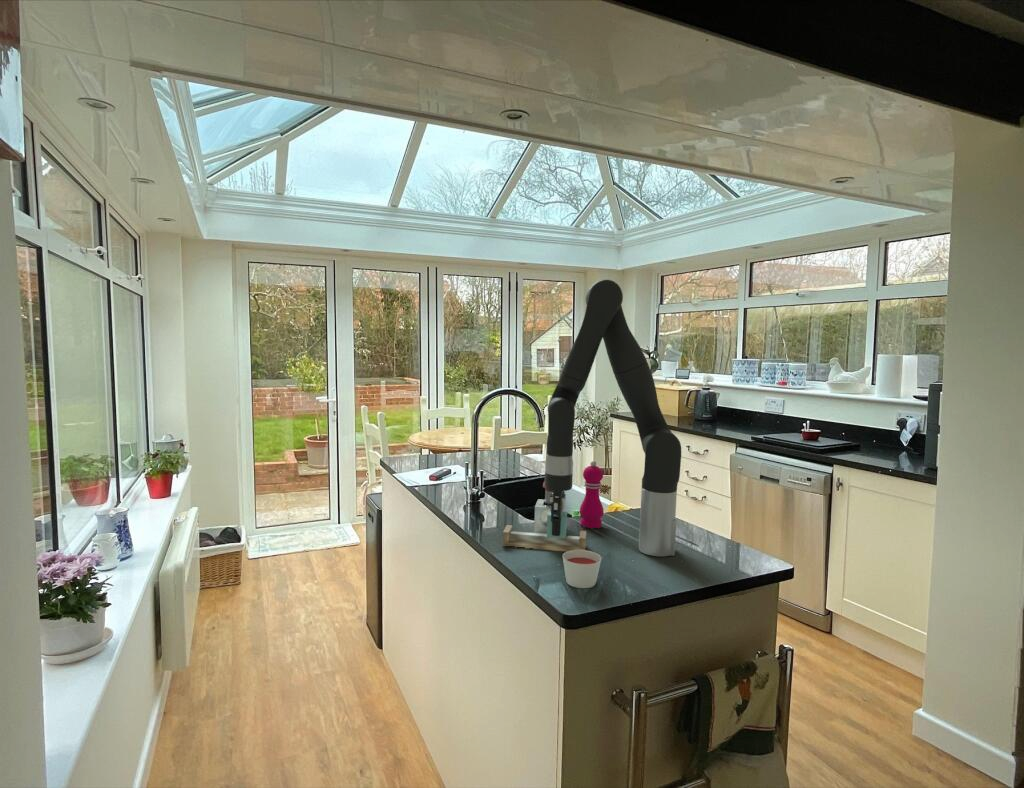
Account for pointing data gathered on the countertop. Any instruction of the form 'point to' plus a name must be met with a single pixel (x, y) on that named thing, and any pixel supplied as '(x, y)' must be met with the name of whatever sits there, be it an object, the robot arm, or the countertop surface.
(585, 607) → the countertop surface
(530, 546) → the rail
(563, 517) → the teal block
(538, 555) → the countertop surface
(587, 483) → the pepper mill
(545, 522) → the gauge cabinet
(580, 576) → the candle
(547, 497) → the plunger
